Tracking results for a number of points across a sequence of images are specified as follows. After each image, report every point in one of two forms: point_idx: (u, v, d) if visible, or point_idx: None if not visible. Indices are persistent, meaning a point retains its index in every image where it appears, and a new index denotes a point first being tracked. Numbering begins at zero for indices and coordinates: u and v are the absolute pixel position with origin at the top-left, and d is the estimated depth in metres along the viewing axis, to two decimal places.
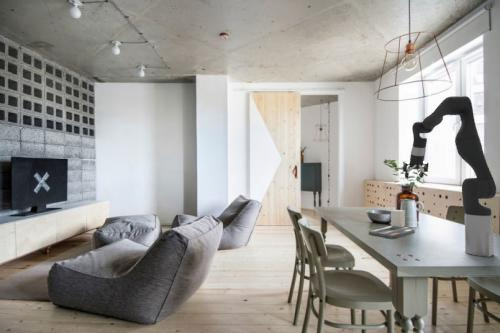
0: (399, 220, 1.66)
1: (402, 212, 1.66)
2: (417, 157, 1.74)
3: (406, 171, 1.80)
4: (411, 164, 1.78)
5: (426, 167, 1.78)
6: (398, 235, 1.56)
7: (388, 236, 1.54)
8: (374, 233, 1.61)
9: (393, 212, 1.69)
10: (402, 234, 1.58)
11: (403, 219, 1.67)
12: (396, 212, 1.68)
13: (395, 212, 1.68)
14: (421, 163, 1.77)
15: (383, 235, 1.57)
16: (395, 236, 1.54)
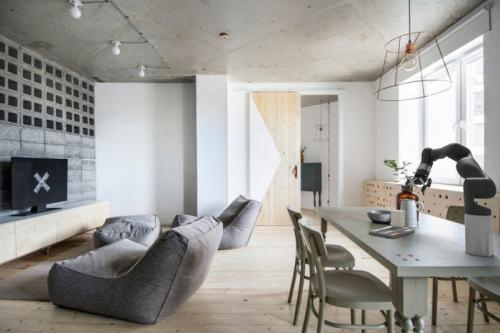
0: (399, 220, 1.66)
1: (402, 212, 1.66)
2: None
3: (426, 186, 1.76)
4: None
5: None
6: (398, 235, 1.56)
7: (388, 236, 1.54)
8: (374, 233, 1.61)
9: (393, 212, 1.69)
10: (402, 234, 1.58)
11: (403, 219, 1.67)
12: (396, 212, 1.68)
13: (395, 212, 1.68)
14: None
15: (383, 235, 1.57)
16: (395, 236, 1.54)
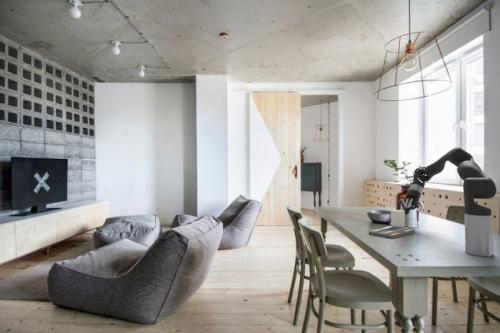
0: (399, 220, 1.66)
1: (402, 212, 1.66)
2: None
3: (410, 209, 1.77)
4: None
5: (403, 205, 1.82)
6: (398, 235, 1.56)
7: (388, 236, 1.54)
8: (374, 233, 1.61)
9: (393, 212, 1.69)
10: (402, 234, 1.58)
11: (403, 219, 1.67)
12: (396, 212, 1.68)
13: (395, 212, 1.68)
14: None
15: (383, 235, 1.57)
16: (395, 236, 1.54)
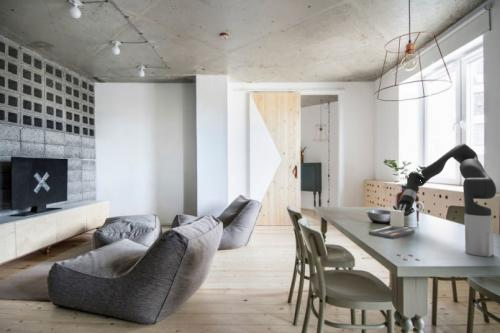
0: (399, 221, 1.66)
1: (401, 212, 1.66)
2: None
3: None
4: None
5: None
6: (398, 235, 1.56)
7: (388, 236, 1.54)
8: (374, 233, 1.61)
9: (392, 212, 1.69)
10: (402, 234, 1.58)
11: (402, 219, 1.66)
12: (395, 212, 1.67)
13: (395, 212, 1.67)
14: None
15: (383, 235, 1.57)
16: (395, 236, 1.54)
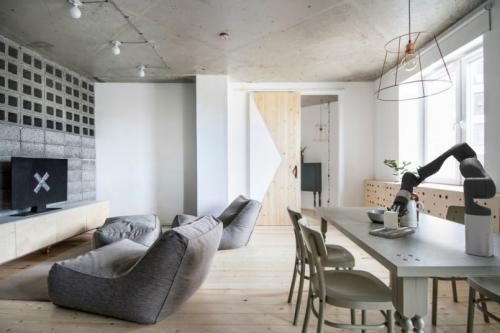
0: (392, 222, 1.62)
1: (395, 213, 1.62)
2: None
3: None
4: None
5: None
6: (398, 235, 1.56)
7: (388, 236, 1.54)
8: (374, 233, 1.61)
9: (386, 213, 1.65)
10: (402, 234, 1.58)
11: (396, 221, 1.62)
12: (389, 213, 1.63)
13: (388, 213, 1.63)
14: None
15: (383, 235, 1.57)
16: (395, 236, 1.54)
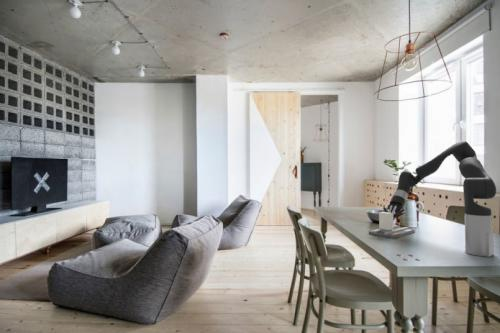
0: (388, 223, 1.59)
1: (390, 214, 1.59)
2: None
3: (394, 217, 1.64)
4: None
5: None
6: (398, 235, 1.56)
7: (388, 236, 1.54)
8: (374, 233, 1.61)
9: (381, 214, 1.62)
10: (402, 234, 1.58)
11: (391, 222, 1.59)
12: (384, 214, 1.60)
13: (384, 214, 1.61)
14: None
15: (383, 235, 1.57)
16: (395, 236, 1.54)
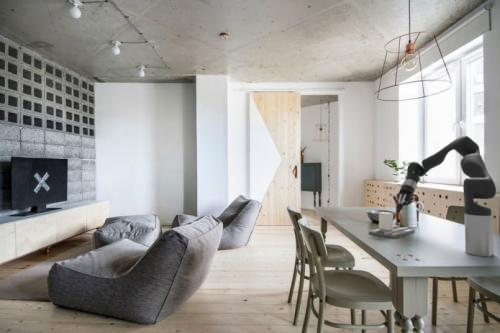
0: (387, 223, 1.59)
1: (390, 214, 1.59)
2: None
3: (403, 205, 1.70)
4: None
5: (397, 201, 1.76)
6: (398, 235, 1.56)
7: (388, 236, 1.54)
8: (374, 233, 1.61)
9: (381, 214, 1.62)
10: (402, 234, 1.58)
11: (391, 222, 1.59)
12: (384, 214, 1.60)
13: (383, 214, 1.60)
14: None
15: (383, 235, 1.57)
16: (395, 236, 1.54)
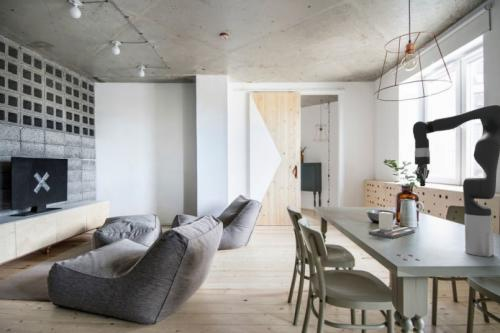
0: (387, 223, 1.59)
1: (390, 214, 1.59)
2: None
3: None
4: None
5: None
6: (398, 235, 1.56)
7: (388, 236, 1.54)
8: (374, 233, 1.61)
9: (381, 214, 1.62)
10: (402, 234, 1.58)
11: (391, 222, 1.59)
12: (384, 214, 1.60)
13: (383, 214, 1.60)
14: None
15: (383, 235, 1.57)
16: (395, 236, 1.54)
